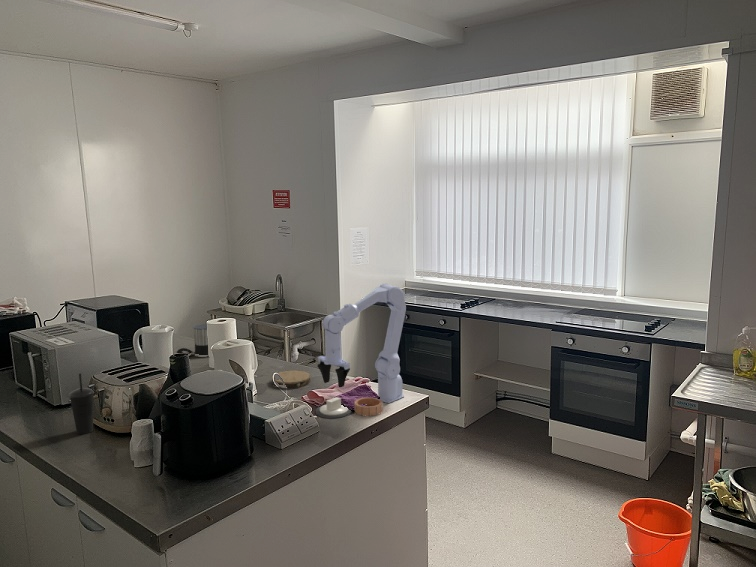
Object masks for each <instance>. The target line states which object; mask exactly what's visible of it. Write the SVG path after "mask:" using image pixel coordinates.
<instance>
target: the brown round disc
mask: <svg viewBox="0 0 756 567" xmlns="http://www.w3.org/2000/svg"><path fill="white" fill-rule="evenodd" d="M277 373H278V374H279V375H280V376H281V377H282V379H283V380H284V383H285V385H286V387H287V388H288V389H287V390H292V389H299V388H303V387H306V386H308V385H309V384H311V374H310V373H309V372H307V371H304V370H286V371H285V370H284V371H280V372H277ZM276 382H277V383H278V384H279V385H283V383H282V381H281V380H280V379H279V380H276ZM271 385H272V386H273V385H274V386H273V387H275V386H276V385H275V384H274V382H273V375H272V376H271Z"/></svg>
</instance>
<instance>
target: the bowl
mask: <svg viewBox="0 0 756 567" xmlns="http://www.w3.org/2000/svg"><path fill="white" fill-rule="evenodd" d="M360 404H367V405H366V406H362V405H360ZM353 405H354V412H355V414H357V415H359V416H362V415H364V416H365V415H366V416H365V417H372V416H371V415H374V416H378V415H380V414H382V413H383V411H384V409H383V408H384V402H383V401H381V400H380V399H377V398H373V397H370V396H369V397H361V398H358V399H356V400H355V401H354V404H353ZM381 412H382V413H381ZM379 413H380V414H379ZM377 414H378V415H377Z"/></svg>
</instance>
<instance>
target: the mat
mask: <svg viewBox="0 0 756 567" xmlns="http://www.w3.org/2000/svg"><path fill="white" fill-rule="evenodd" d="M321 406H322V405H320V406H319V407H317V408H316V409H315V414H316V415H317V416H318V417H320V418H324V419H342V418H345V417H348V416H349V415H350V414H352V411H351V410H352V409H351V410H349V409H348V412H346V413H344V414H342V415H335V416H330V415H324V414H322V413H320V407H321Z"/></svg>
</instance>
